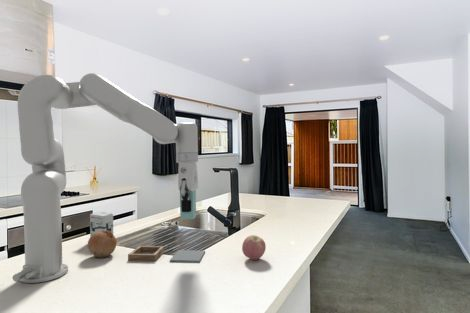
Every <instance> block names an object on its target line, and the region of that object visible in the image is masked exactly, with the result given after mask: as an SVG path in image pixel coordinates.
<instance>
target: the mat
mask: <svg viewBox="0 0 470 313" xmlns="http://www.w3.org/2000/svg"><path fill="white" fill-rule="evenodd" d="M205 253H206V250H188V249H177V251H176V252H175V253H174V255H173V256H172V257H171V258H170V259H169V261H170V263H200V262H201V260H202V258H203V257H204V255H205Z"/></svg>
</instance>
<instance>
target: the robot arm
mask: <svg viewBox="0 0 470 313" xmlns="http://www.w3.org/2000/svg"><path fill="white" fill-rule="evenodd" d="M90 106H98V107H100V109H103V111H106V112H107V113H109V114H111V115H112V116H114V117H115V118H117V119H118V120H120V121H121V122H124V123H128V124H130V125H132V126H134V127H137V128H138V129H140V130H141V131H143V132H145V133H147V134H148V135H150V136H151V137H153V138H152V139H153V140H154V141H155V142H157V143H158V144H160V145H167V144H174V143H175V155H176V156H175V158H176V159H175V161H176V164H178V167H177V168H178V171H177V172H178V174H177V175H178V176H177V179H178V180H177V181H178V182H177V184H178V191H179V192H180V191H181V206H182V212H191V200H190V190H191V191H194V190H196V191H197V189H198V188H199V178H198V167H197V166H198V165H197V163H199V147H198V146H199V145H198V144H199V143H198V142H199V141H198V125H197V123H195V122H186V121H185V122H183V121H182V122H179V123H174V121H172V120H171V119H169V118H168V117H166V116H165V115H163V114H162V113H160V112H159V111H158V110H156V109H154V108H152V107H151V106H149V105H147V104H145V103H143V102H141V101H140V100H138V99H137V98H135V97H134V96H132V95H131V94H129V93H127V92H126V91H124V90H123V89H121V88H120V87H119V86H117V85H115V84H114V83H112V82H111V81H110V80H108V79H107V78H105V77H104V76H101V75H100V74H97V73H95V72H94V73H91V72H90V73H86V74H85V75H83V76H82V77H81V78H80V80H79V81H75V82H74V81H73V82H64V80H63V79H61V78H60V77H58V76H55V75H52V74H41V75H38V76H35V77H33V78H31V79H29V80H28V81H27V82H26V83H25V84H24V85H23V86H22V88H21V89H20V91H19V93H18V97H17V116H18V130H19V138H20V139H19V140H20V142H19V143H20V152H21V154H20V155H21V157H22V160H24V161H25V163H27V164H28V165H30V166H31V168H32V169H31V170H32V171H31V172H32V173H30V174H29V175H27V176H26V177H25V179H23V182H22V184H21V187H20V196H21V201H22V208H23V227H24V228H23V229H24V230H23V232H24V265H22V269H21V270H20V271H18V272H17V273H14V274H13V275H12V280H13V281H14V282H18V281H20V282H21V283H25V284H37V283H43V282H48V281H52V280H55V279H58V278H60V277H62V276H64V275H65V274H67V273H68V271H69V266H68V265H67V264H65V263H63V236H62V235H63V234H62V229H63V228H62V207H61V206H62V205H61V198H60V197H61V196H60V195H61V194H63V192H64V191H65V189H66V186H67V173H66V172H67V171H66V163H65V161H66V160H65V153H64V148H63V146H62V144H61V142H60V141H59V140H57V138H55V133H54V123H53V122H54V121H53V115H52V108H54V109H58V110H60V109H61V110H64V109H65V110H66V109H73V108H74V109H75V108H83V107H90ZM186 190H188V191H186ZM187 193H188V194H187Z"/></svg>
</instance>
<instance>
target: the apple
mask: <svg viewBox="0 0 470 313" xmlns="http://www.w3.org/2000/svg"><path fill="white" fill-rule="evenodd" d="M241 245H242V248H241V250H242V253H243V255H244V256H245V257H246V258H249V259H250V260H253V261H258V260H259V259H261V258H262V257H263V255H264V254H265V252H266V249H267V248H266V247H267V246H266V242H265V241H264V239H263V238H261V237H260V236H259V235H253V234H252V235H248V236H246V238H245V239H244V240H243V242H242V244H241Z"/></svg>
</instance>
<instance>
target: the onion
mask: <svg viewBox="0 0 470 313" xmlns="http://www.w3.org/2000/svg"><path fill="white" fill-rule="evenodd" d="M116 247H117V238H116V236H115V235H114V233H113V234H112V233H111V231H108V230H107V231H101V232H96V233H94V234H93V235H92V236H91V237H89V238H88V241H87V249H88V251H89V252H90V254H91V255H93V257H95V258H99V259H103V258H106V257H109V256H110V255H112V254H114V251H115V250H116Z"/></svg>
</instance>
